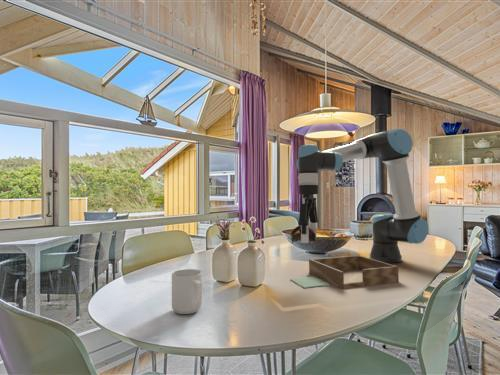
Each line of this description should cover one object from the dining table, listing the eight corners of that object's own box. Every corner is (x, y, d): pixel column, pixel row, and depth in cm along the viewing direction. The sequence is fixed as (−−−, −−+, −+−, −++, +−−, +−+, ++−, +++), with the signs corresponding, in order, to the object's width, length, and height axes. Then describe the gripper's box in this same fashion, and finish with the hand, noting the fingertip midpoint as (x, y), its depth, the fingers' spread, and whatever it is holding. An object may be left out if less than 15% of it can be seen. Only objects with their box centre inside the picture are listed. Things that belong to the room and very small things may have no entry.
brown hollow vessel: (320, 246, 119) (310, 229, 117) (298, 257, 121) (288, 240, 119) (316, 232, 130) (307, 216, 129) (296, 242, 132) (286, 226, 131)
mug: (166, 309, 95) (166, 272, 95) (191, 302, 101) (191, 267, 101) (186, 320, 86) (186, 280, 87) (213, 312, 92) (213, 274, 92)
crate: (359, 268, 145) (358, 255, 145) (398, 281, 122) (398, 266, 122) (309, 273, 137) (309, 259, 137) (341, 288, 114) (341, 272, 114)
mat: (314, 277, 130) (314, 276, 130) (330, 285, 119) (330, 284, 119) (290, 279, 126) (290, 278, 127) (304, 288, 115) (304, 287, 115)
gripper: (307, 185, 135) (308, 236, 135) (289, 183, 115) (290, 244, 114) (324, 185, 132) (325, 237, 131) (309, 183, 111) (310, 245, 111)
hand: (309, 240), depth 123 cm, fingers closed on brown hollow vessel, 10 cm apart
